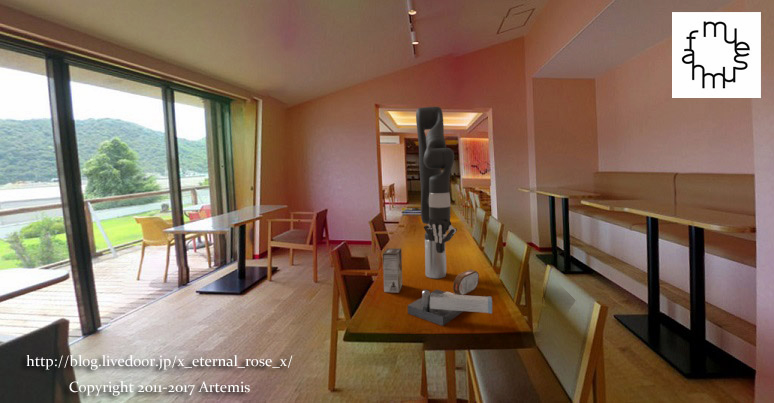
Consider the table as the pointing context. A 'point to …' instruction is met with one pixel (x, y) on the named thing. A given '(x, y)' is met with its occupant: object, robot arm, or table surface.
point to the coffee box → (392, 270)
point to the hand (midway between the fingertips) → (440, 252)
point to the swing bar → (461, 303)
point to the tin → (466, 282)
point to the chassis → (433, 315)
